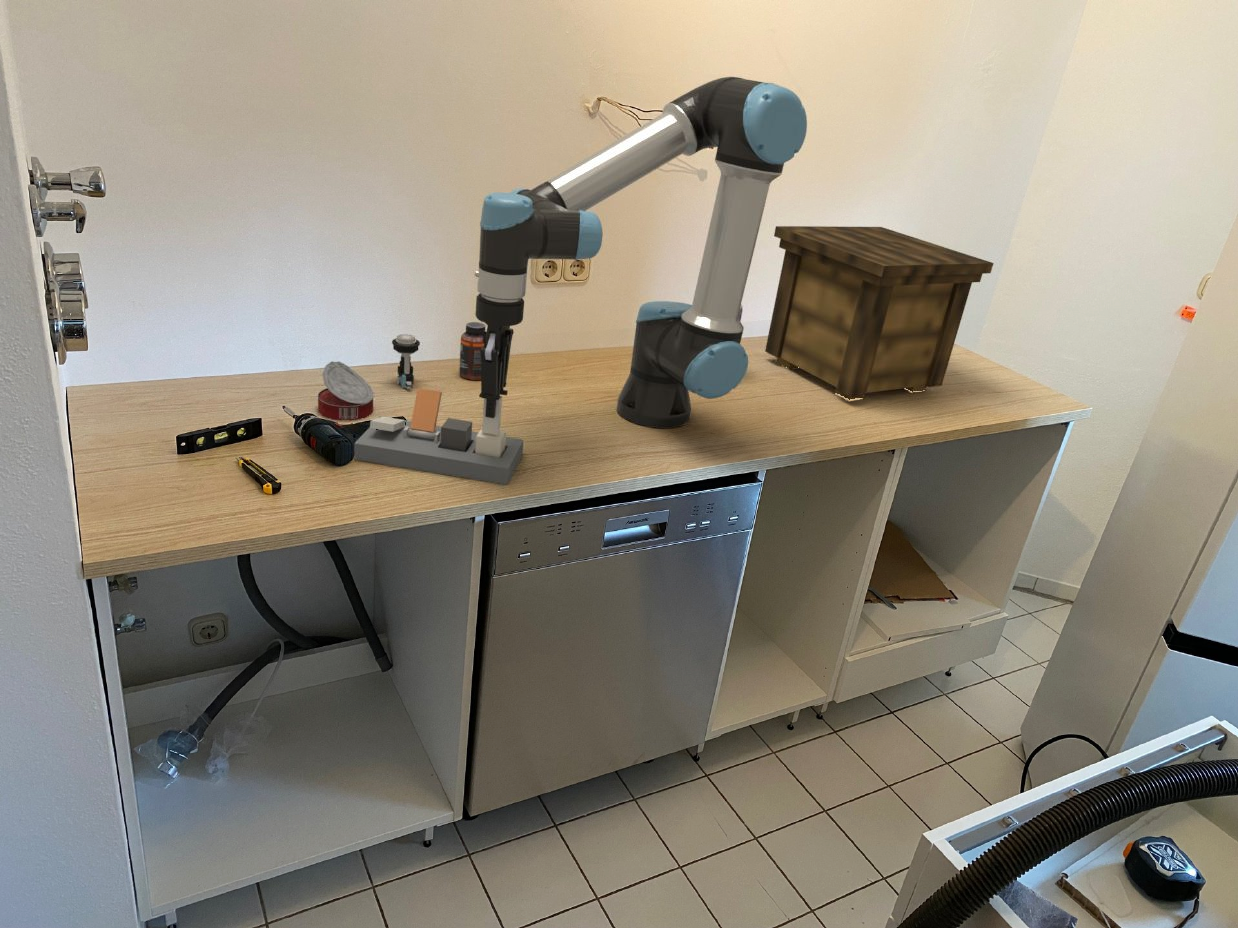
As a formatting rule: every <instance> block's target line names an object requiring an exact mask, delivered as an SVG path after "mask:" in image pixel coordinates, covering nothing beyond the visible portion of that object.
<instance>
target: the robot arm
mask: <svg viewBox="0 0 1238 928" xmlns="http://www.w3.org/2000/svg"><path fill="white" fill-rule="evenodd" d="M807 128H808V120H807V114H806V109H805V107H804V105H803V104H802V101H801V99H800V97H799V96H798V95H797V94H796V93H795V92H794V91H792V90H791V89H790V88H788V87H785V86H782V85H779V84H777V83H776V84H775V83H774V82H765V81H763V82H762V81H758V80H751V79H746V78H742V77H738V76H737V77H736V76H726V77H719V78H717V79H713V80H711V81H709V82H706V83H703V84H702V85H699V86H698V87H695V88H693V89H692V90H690V91H688V92H686V93H684V94H682V95H681V96H679V97H677V98H675V99H673V100H672V101H670V102H669V103H667V104H665V105H664V107H663V109H662V114H660V115H658V116H656V117H655V118H653V119H651V120H649V121H648V122H646V123H645V124H643V125H641V126H639V127H637V128H636V129H634V130H632V131H631V132H629V133H627V134H626V135H624V136H621V137H620V138H618V139H617V140H615V141H614V142H612V143H610V144H608V145H606V146H605V147H603V148H602V149H600V150H598V151H596V152H595V153H592V154H591V155H590V156H589V155H588V156H587V157H586V158H584V159H583V160H581V161H579V162H578V163H576V164H574V165H573V166H570V167H569V168H567V169H566V170H564V171H561V172H560V173H559V174H557V175H555V176H553V177H552V178H550V179H548V180H547V181H545V182H543V183H541V184H539V185H538V186H536V187H534V188H532V189H529V188H517V189H514V190H512V191H510V192H492V193H491V192H490V193H488V195H486V196H485V197H484V199H483V203H482V210H481V216H480V217H481V218H480V222H479V226H480V236H479V237H480V238H479V261H478V270H475V273H474V276H475V277H476V278H478V280H477V286H476V287H477V292H478V294H477V295H476V300H475V301H476V302H475V318H476V319H477V320H478V321H480V323H483V324H485V325H486V326H487V328H486V331H485V332H484V334H483V343H484V347H481V349H480V355H481V379H480V380H481V381H480V383H481V384H480V386H481V387H480V391H481V392H480V393H479V394H478V397H479V398H481V399H483V411H482V423H481V428H482V433H487V434H493V435H498V434H499V432H500V430H501V419H502V418H501V417H502V408H503V407H502V406H503V405H502V404H503V396H507V395H508V392H509V390H506V389H504V388H506V386H507V377H508V370H509V361H510V356H511V355H510V354H511V345H512V341H513V336H514V328H511V327H512V326H517V325H519V324H521V323H522V322H523V319H524V311H525V309H524V308H525V300H524V297H525V296H526V292H527V280H528V279H527V278H528V267H529V260H531V259H532V260H574V261H578V260H585V259H592V258H595V257H596V256H597V255H598V253H599V252H600V250H601V248H602V244H603V243H602V242H603V226H602V222H601V220H600V217H599V216H598V215H597V214H596V213H595V212H593V211H588V210H589V209H591V208H592V207H595V206H596V205H598V204H599V203H601V202H603V201H605V200H606V199H608V198H610V197H612V196H613V195H615V194H617V193H618V192H620V191H621V190H623V189H625V188H627V187H628V186H631V184H634V183H635V182H637V181H639V180H640V179H642V178H644V177H645V176H647V175H649V174H651V173H652V172H654V171H656V170H657V169H659V168H661V167H662V166H664V165H665V164H667V163H669V162H671V161H673V160H674V159H676V158H678V157H680V156H681V155H684V156H687V157H691V156H693V155H694V154H696V153H698V152H699V151H702V150H706V149H710V148H717V149H716V153H715V157H714V162H715V163H716V165H717V167H718V170H719V171H720V177H719V182H718V186H717V192H716V195H715V200H714V204H713V207H712V208H713V210H712V212H711V213H712V214H711V218H710V221H709V226H708V231H707V236H706V241H705V244H704V245H705V246H704V250H703V254H702V259H701V263H700V268H699V272H698V275H697V283H696V286H695V291H694V295H693V301H692V304H690V303H684V302H678V301H667V300H666V301H664V300H663V301H662V300H660V301H659V300H657V301H649V302H648V301H647V302H645V303H643V304H641V306H640V307H639V310H638V313H637V317H636V321H635V324H636V325H635V332H634V339H633V348H632V354H631V355H632V357H631V362H630V364H631V365H630V371H629V375H628V377H627V379H626V381H625V383H624V384H623V386H622V389H621V391H620V393H619V395H618V397H617V404H616V411H617V413H618V414H619V415H620V416H621V417H622V418H624V419H625V420H627V421H629V422H632V423H634V424H638V425H640V426H645V427H651V428H660V429H661V428H662V429H668V428H677V427H682V426H684V425H686V424H687V423H689V421H690V419H691V413H692V404H691V398H690V394H689V393H693V394H696V395H697V396H699V397H701V398H704V399H717V398H721V397H723V396H725V395H727V394H730V392H731V391H732V390H734V389H736V388H737V386H739V385H740V383H741V382H742V381H743V379H744V377H745V375H746V373H747V370H748V367H749V357H748V354H747V352H746V349H745V348H744V347H743V346H742V344H741V342H742V337H743V333H744V329H745V328H744V325H743V324H742V322H740V320H739V319H738V315H739V310H740V306H741V305H742V301H743V298H744V293H745V288H746V285H747V280H748V276H749V271H750V269H751V265H752V260H753V256H754V251H755V247H756V243H757V238H758V235H759V231H760V227H761V222H762V219H763V214H764V210H765V207H766V202H767V199H768V193H769V189H770V185H771V183H772V182H773V181H774V180H777V178H779V177H780V176H782V174H783V170H784V166H785V163H787V162H789V161H791V160H792V159H793V158H795V154H797V153H799V152H800V150H801V148H802V147H803V145H804V142H805V139H806V136H807V131H808V129H807Z"/></svg>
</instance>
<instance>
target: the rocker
mask: <svg viewBox="0 0 1238 928" xmlns="http://www.w3.org/2000/svg"><path fill="white" fill-rule="evenodd" d="M379 417H380V418H379ZM379 417H378V418H375V419H372V420H370V424H369V428H374V429H380V430H386V431H392V432H394V431H396V430H398V429H401V428H403V427H404V426H405V421H406V420H405V419H400V418H393V417H388V416H379Z"/></svg>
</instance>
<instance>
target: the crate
mask: <svg viewBox="0 0 1238 928" xmlns="http://www.w3.org/2000/svg"><path fill="white" fill-rule="evenodd" d="M773 234H774V235H773V236H774V237H775V238H778V239H780V240H779V245H778V247H779V249H781V250H782V249H783V250H785V251H784V256H783V261H782V266H781V271H780V276H779V280H778V285H777V291H776V295H775V300H774V306H773V311H772V315H771V320H770V325H769V331H768V335H767V341H766V345H765V349H764V352H765V353H767V354H769V355H771V356H772V357H774V358H777V359H776V364H778V365H779V364H780V366H781V365H783V366H784V367H783V366H782V367H783V368H785V367H787V368H788V369H787V368H786V369H787V370H794V369H793V368H798V367H799V368H798V369H802V370H803V371H805V372H807V373H809V374H811V375H813V376H814V377H817V378H818V379H820V380H822V381H823V382H826V383H828V384H830V385H832V386H834V387H835V390H834V394H835V393H837V394H840V395H841V396H844V397H845V398H848V399H849V400H850V399H855V398H863V399H864V397H865V396H866V394H867V393H875V392H884V391H890V390H891V391H892V390H898V389H899V390H900V389H901V390H902V388H906V389H908V390H910V391H912V392H913V391H923V390H925V391H926V389H927V388H933V387H941V386H943V382H944V379H945V376H946V372H947V368H948V366H949V362H950V359H951V355H952V352H953V348H954V347H955V346H954V345H955V342H956V338H957V336H958V335H957V334H958V331H959V329H960V324H961V322H962V318H963V314H964V312H965V308H966V304H967V301H968V297H969V294H970V291H971V288H972V284H973V283H981V281H982V277H983V275H984V274H991V273H992V271H993V266H994V262H992V261H989V260H984V259H982V258H979V257H976V256H973V255H970V254H966V253H964V252H960V251H957V250H955V249H950V248H948V247H945V246H942V245H938V244H935V243H932V242H929V241H926V240H924V239H923V240H922V239H920V238H917V237H914V236H910V235H908V234H904V233H901V232H899V231H895V230H892V229H889V228H886V227H883V226H828V225H827V226H825V225H824V226H821V225H820V226H817V225H816V226H815V225H814V226H806V225H805V226H804V225H803V226H802V225H801V226H800V225H799V226H797V225H796V226H795V225H793V226H792V225H790V226H789V225H788V226H787V225H783V226H782V225H778V226H775V229H774V233H773Z"/></svg>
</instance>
